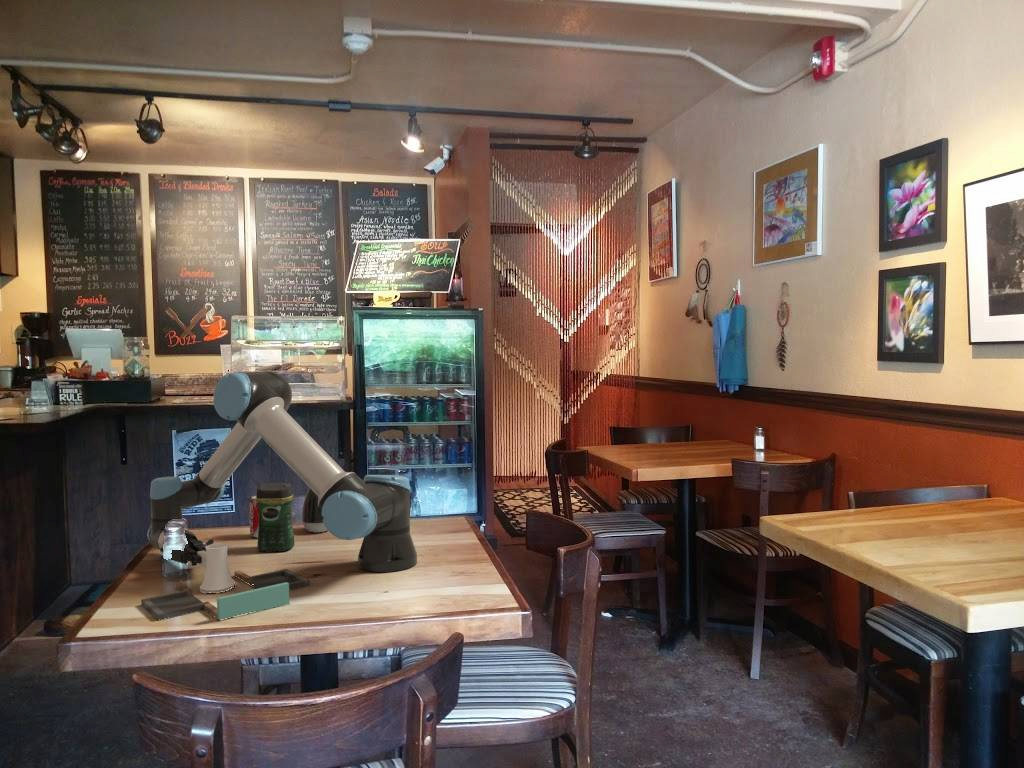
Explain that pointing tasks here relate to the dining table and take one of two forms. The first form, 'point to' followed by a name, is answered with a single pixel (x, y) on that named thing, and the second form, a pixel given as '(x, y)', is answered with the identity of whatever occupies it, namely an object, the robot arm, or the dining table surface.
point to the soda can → (254, 517)
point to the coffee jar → (275, 517)
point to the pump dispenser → (312, 514)
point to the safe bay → (252, 600)
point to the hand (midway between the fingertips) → (209, 562)
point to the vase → (217, 570)
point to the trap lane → (189, 603)
